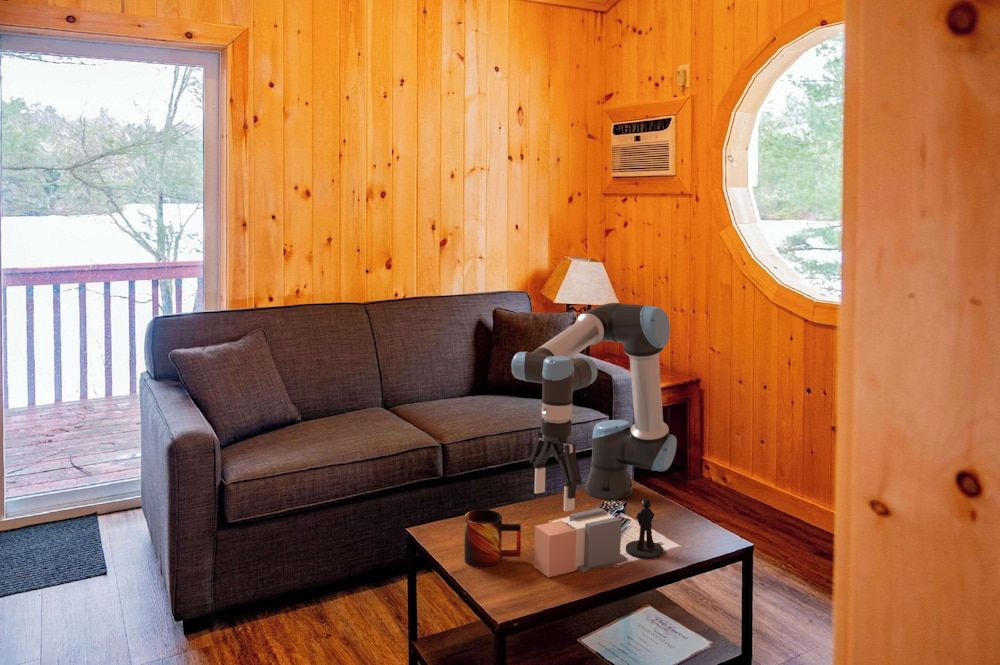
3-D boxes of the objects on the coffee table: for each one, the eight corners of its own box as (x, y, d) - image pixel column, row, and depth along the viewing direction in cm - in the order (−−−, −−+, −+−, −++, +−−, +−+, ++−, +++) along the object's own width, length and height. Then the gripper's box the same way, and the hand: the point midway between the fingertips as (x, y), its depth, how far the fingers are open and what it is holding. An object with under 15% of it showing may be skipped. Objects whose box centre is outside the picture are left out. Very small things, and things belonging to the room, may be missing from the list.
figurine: (656, 542, 231) (658, 491, 229) (668, 558, 221) (671, 504, 219) (621, 544, 230) (623, 492, 227) (632, 560, 220) (634, 506, 217)
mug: (521, 560, 218) (522, 517, 216) (474, 571, 212) (474, 526, 210) (504, 546, 227) (505, 504, 225) (458, 556, 221) (458, 513, 219)
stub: (559, 560, 218) (561, 519, 217) (575, 570, 212) (576, 529, 210) (533, 566, 215) (534, 525, 213) (548, 577, 209) (549, 535, 207)
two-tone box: (606, 548, 227) (608, 506, 225) (627, 561, 219) (629, 517, 217) (559, 559, 219) (560, 516, 217) (578, 573, 212) (580, 528, 210)
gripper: (517, 409, 215) (516, 487, 219) (572, 433, 194) (569, 520, 197) (542, 406, 219) (540, 483, 222) (598, 430, 198) (595, 515, 201)
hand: (553, 501), depth 210 cm, fingers open, 13 cm apart
